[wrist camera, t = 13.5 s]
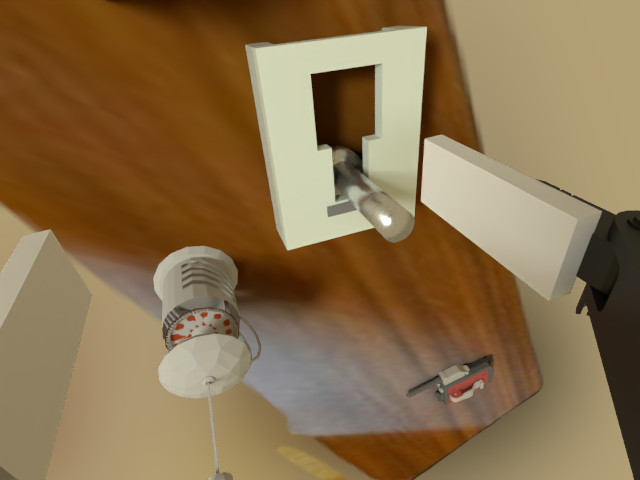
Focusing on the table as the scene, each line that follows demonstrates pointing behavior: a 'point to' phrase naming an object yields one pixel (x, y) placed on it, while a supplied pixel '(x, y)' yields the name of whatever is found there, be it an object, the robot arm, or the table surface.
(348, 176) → the steel peg
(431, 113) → the table surface
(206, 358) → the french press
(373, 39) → the keyhole board
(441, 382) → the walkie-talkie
